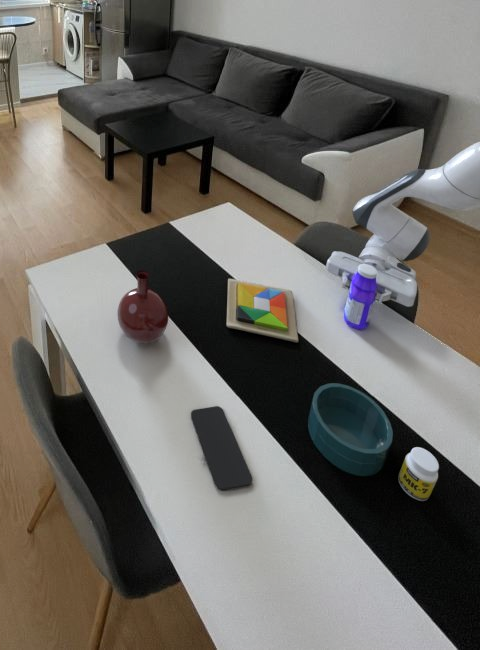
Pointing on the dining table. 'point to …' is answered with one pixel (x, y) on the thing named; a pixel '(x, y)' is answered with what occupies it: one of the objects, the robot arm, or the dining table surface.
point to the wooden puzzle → (261, 310)
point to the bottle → (361, 297)
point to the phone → (221, 449)
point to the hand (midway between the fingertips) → (361, 293)
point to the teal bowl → (349, 429)
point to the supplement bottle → (419, 473)
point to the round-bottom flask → (142, 312)
